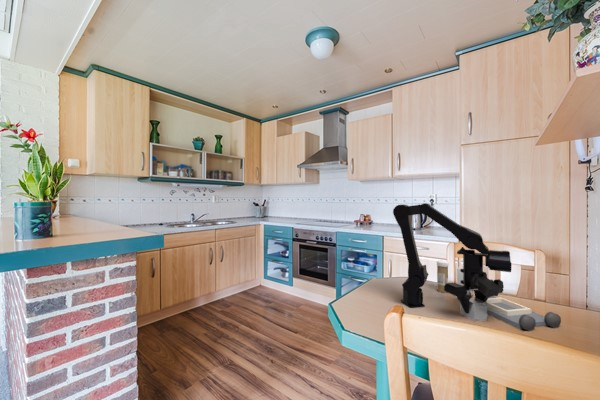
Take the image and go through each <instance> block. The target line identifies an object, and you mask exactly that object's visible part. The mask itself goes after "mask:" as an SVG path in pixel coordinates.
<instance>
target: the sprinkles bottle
mask: <svg viewBox="0 0 600 400" xmlns="http://www.w3.org/2000/svg"><path fill="white" fill-rule="evenodd" d="M436 266H437V267H436V268H437V269H436V277H437V278H436V281H437V282H436V283H437V289H436V290H437V292H439V293H443V294H447V293H448V292H446V291H444V286H445V284H446V283H449V262H448V261H446V260H437V261H436Z"/></svg>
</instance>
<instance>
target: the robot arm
mask: <svg viewBox="0 0 600 400" xmlns="http://www.w3.org/2000/svg"><path fill="white" fill-rule="evenodd" d="M392 214H393V216H394V219H395V221H396V223H397V224H398V226H399V228H400V231H401V236H402V241H403V246H404V249H405V254H406V258H407V264H408V267H407V279H405V281H403V283H402V299H401V300H400V302H401V303H403V304H404V305H406V306H407V307H408V308H419V307H420V308H421V307H422V308H423V307H425V306H426V305H425V304H424V293H423V288H422V287H423V286H424V285H425V284H426V282H427V279H428V277H429V272H428V271H427V264H422V263H421V260H420V256H419V252H418V249H417V244H416V239H415V236H414V231H413V227H412V225H413V216H416V215H425V216H426V217H428V218H429V219H431V220H432V221H433V222H435V223H436V224H438V225H440V226H441V227H442V228H444V229H445V230H447V231H448V232H450V233H451V234H452V235H453V236H454V237H455V238H456V239H457V240H458V241H459V242H460V243H461V244H462V245H463V246H461V248H460V249H458V250H457V252H456V254H457V255H463V256H462V259H463V260H462V262H463V264H462V266H463V269H460V270H461V272H463V280H461V283H462V284H464V285H463V286H462V285H459V284H458V282H448V283H446V284H445V286H444V291H446V292H448V293H449V294H451V295H453V296H454V297H456V298H457V299H458V301H459V304H460V303H461V305H462V307H463V309H464V311H465V313H467V314H468V313H469V300H470V299H471V298H472V297H475V298H478V299H480V300H482V301H485V302H486V301H487V299H488V298H489V297H491V296H494V297H499V294H503V292H504V288H505V287H504V286H505V285H504V281H503V280H501V279H489V278H488V276H487V275H488V274H487V272H485V271H484V264H485V267H487V268H488V269H489V271H498V272H504V273H505V272H506V273H512V261H511V252H510V251H509V250H495V249H494V250H492V249H489V248H488V247H489V246H486V244H485V243H484V240H483V237H482V235H481V233H479V232H477V231H475V230H472V229H471V228H468V227H465V226H463V225H461V224H459V223H457V222H456V221H455V220H453V219H452V218H449V217H448V216H447V215H446V214H444V213H442V212H441V211H439V210H438V209H436V207H433V206H432V204H430V203H426V202H425V203H424V202H423V203H421V204H415V205H408V204H398V205H395V206H394V208H393V209H392ZM464 246H465V247H466V248H467V249H466V248H465V247H464ZM476 251H477V252H476ZM469 291H473V294H474V296H473V295H472V296H470V295H469Z"/></svg>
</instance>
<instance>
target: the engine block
mask: <svg viewBox="0 0 600 400" xmlns="http://www.w3.org/2000/svg"><path fill="white" fill-rule="evenodd" d="M459 307H460V308H459V309H460V311H459V312H460V315H462V316H464V317H465V318H467V319H469V320H471V321H472V322H483V321H488V314H487V302H485V301H482V300H480V299H478V298H475V296H473V297H472V298H471V299H470V300H469V313H468V314H467V313H465V311H464V309H463V307H462V305H461V303H460V302H459Z"/></svg>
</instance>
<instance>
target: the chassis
mask: <svg viewBox="0 0 600 400" xmlns="http://www.w3.org/2000/svg"><path fill="white" fill-rule="evenodd" d="M469 295H470V296H473V295H471V292H470V291H469ZM486 302H487V315H489V316H491V317H493V318H496V319H497V320H499V321H502V322H504V323H506V324H508V325H510V326H512V327H514V328H517V329H518V330H521V329H522V330H523V329H524V330H525V331H528V332H531V331H533V330H535V328H539V327H551V328H554V329H557V328H558V327H560V325H561V323H562V318H561V316H560V315H559V313H555V312H553V311H548V312H546V314H544V315H543V314H540V313H537V312H536V311H535V312H534V311H532V308H529V307H526V306H525V305H521V304H519V303H516V302H514V301H512V300H509V299H506V298H504V297H499V296H491V297H489V298H488V299H487V301H486Z"/></svg>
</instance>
